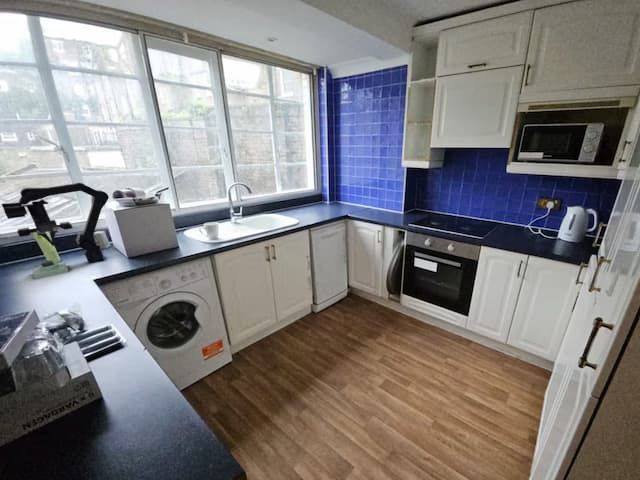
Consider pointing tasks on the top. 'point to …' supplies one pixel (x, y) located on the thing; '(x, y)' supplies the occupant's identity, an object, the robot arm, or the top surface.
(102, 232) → the cosmetics bottle
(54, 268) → the dispenser
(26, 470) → the top surface
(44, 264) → the pump head
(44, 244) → the tube
